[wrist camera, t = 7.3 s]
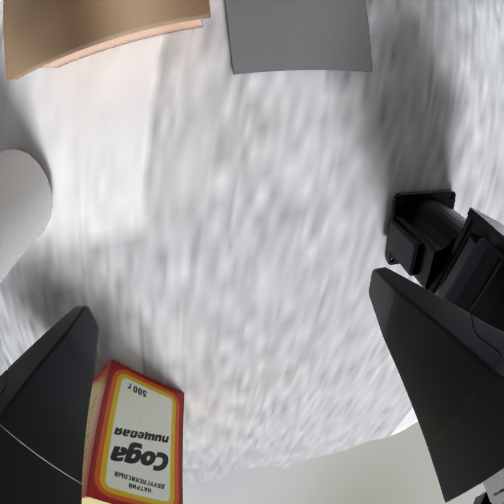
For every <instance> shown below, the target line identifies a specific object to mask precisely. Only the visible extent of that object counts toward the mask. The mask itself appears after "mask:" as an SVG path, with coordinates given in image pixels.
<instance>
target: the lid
mask: <svg viewBox="0 0 504 504" xmlns="http://www.w3.org/2000/svg"><path fill="white" fill-rule="evenodd" d="M205 18H211V15H210V6H209V0H4V4H3V27H4V49H5V61H6V71H7V80H13V79H18V78H20V77H22V76H24V75H26V74H28V73H30V72H32V71H34V70H36V69H38V68H40V67H42V66H44V65H47V64H49V63H51V62H53V61H56V60H58V59H60V58H63V57H65V56H67V55H70V54H72V53H75V52H78V51H80V50H83V49H85V48H88V47H91V46H94V45H97V44H100V43H103V42H106V41H109V40H112V39H115V38H119V37H122V36H125V35H129V34H132V33H136V32H140V31H144V30H148V29H152V28H156V27H161V26H166V25H170V24H175V23H181V22H186V21H192V20H198V19H205Z"/></svg>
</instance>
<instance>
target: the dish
mask: <svg viewBox="0 0 504 504" xmlns="http://www.w3.org/2000/svg"><path fill="white" fill-rule="evenodd" d="M200 27H203V23H202V19H198V20H192V21H186V22H181V23H175V24H170V25H166V26H161V27H156V28H152V29H148V30H144V31H140V32H136V33H132V34H129V35H125V36H122V37H119V38H115V39H112V40H109V41H106V42H103V43H100V44H97V45H94V46H91V47H88V48H85V49H83V50H80V51H78V52H75V53H72V54H70V55H67V56H65V57H63V58H60V59H58V60H56V61H53V62H51V63H49V64H47V65H44V66H42V67H40V68H54V67H60V66H63V65H65V64H68V63H70V62H73V61H75V60H78V59H80V58H83V57H86V56H89V55H91V54H94V53H97V52H100V51H103V50H106V49H109V48H113V47H116V46H119V45H123V44H126V43H130V42H133V41H137V40H141V39H145V38H149V37H153V36H158V35H162V34H167V33H172V32H177V31H182V30H188V29H193V28H200Z"/></svg>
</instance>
